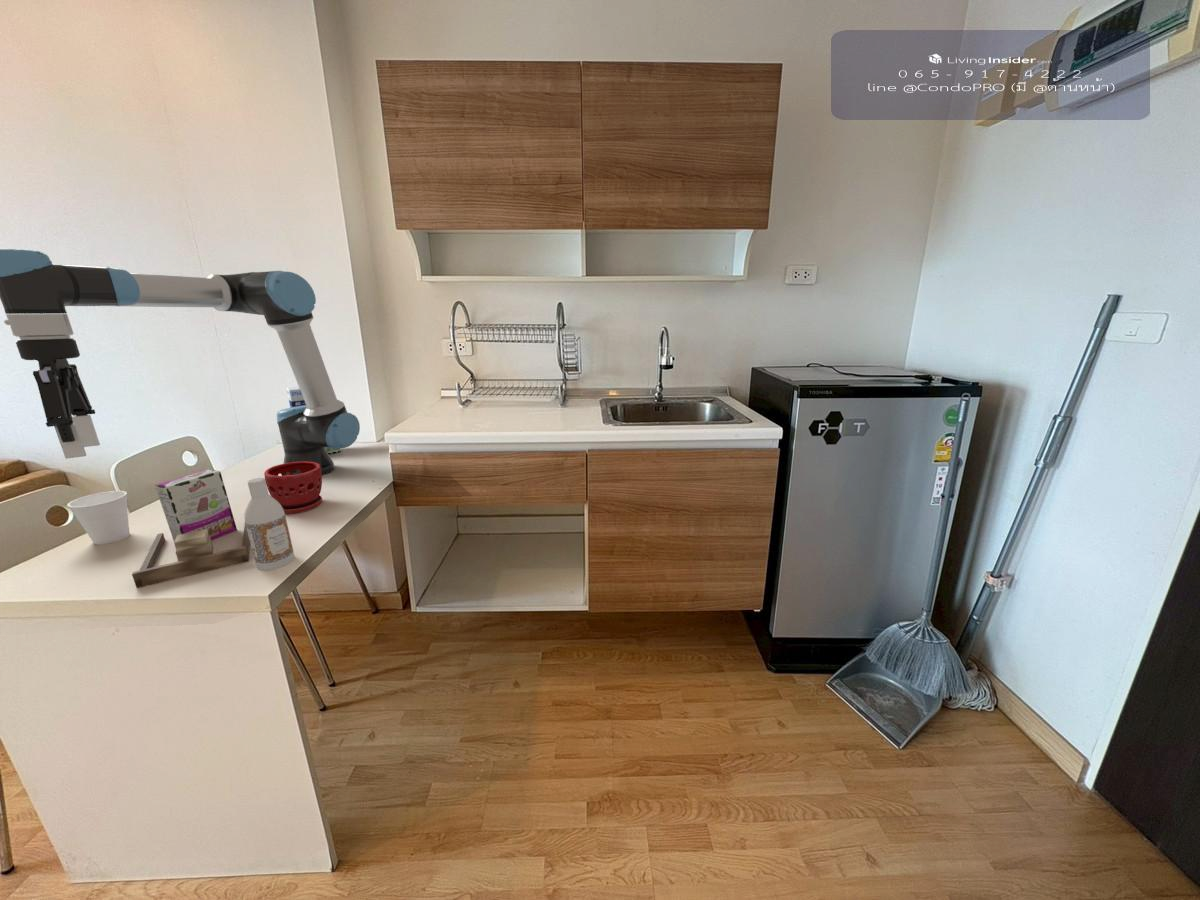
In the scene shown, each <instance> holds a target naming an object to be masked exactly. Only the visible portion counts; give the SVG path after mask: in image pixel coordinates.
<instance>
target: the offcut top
mask: <svg viewBox="0 0 1200 900" xmlns="http://www.w3.org/2000/svg"><path fill="white" fill-rule="evenodd" d="M208 540H209V534H208V530H207V529H205V530H200V531H195V532H190V533H185V534H180V535H177V537H176V539H175V541H174V540H173V544H174V548H175V552H176V551H179V550H184V549H189V548H193V547H198V546H203V545H207V543H208Z"/></svg>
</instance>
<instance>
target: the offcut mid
mask: <svg viewBox="0 0 1200 900" xmlns="http://www.w3.org/2000/svg"><path fill="white" fill-rule="evenodd" d="M212 541H213V540H211V538H210V536H209V540H208V543H207V545H203V546H198V547H193V548H189V549H184V550H179V551H176V550H175V555H176V558H177V560H178V561H183V560H187V559H192V558H196V557H200V556H205V555H209V554H213V546H214V545H213V542H212Z"/></svg>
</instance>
